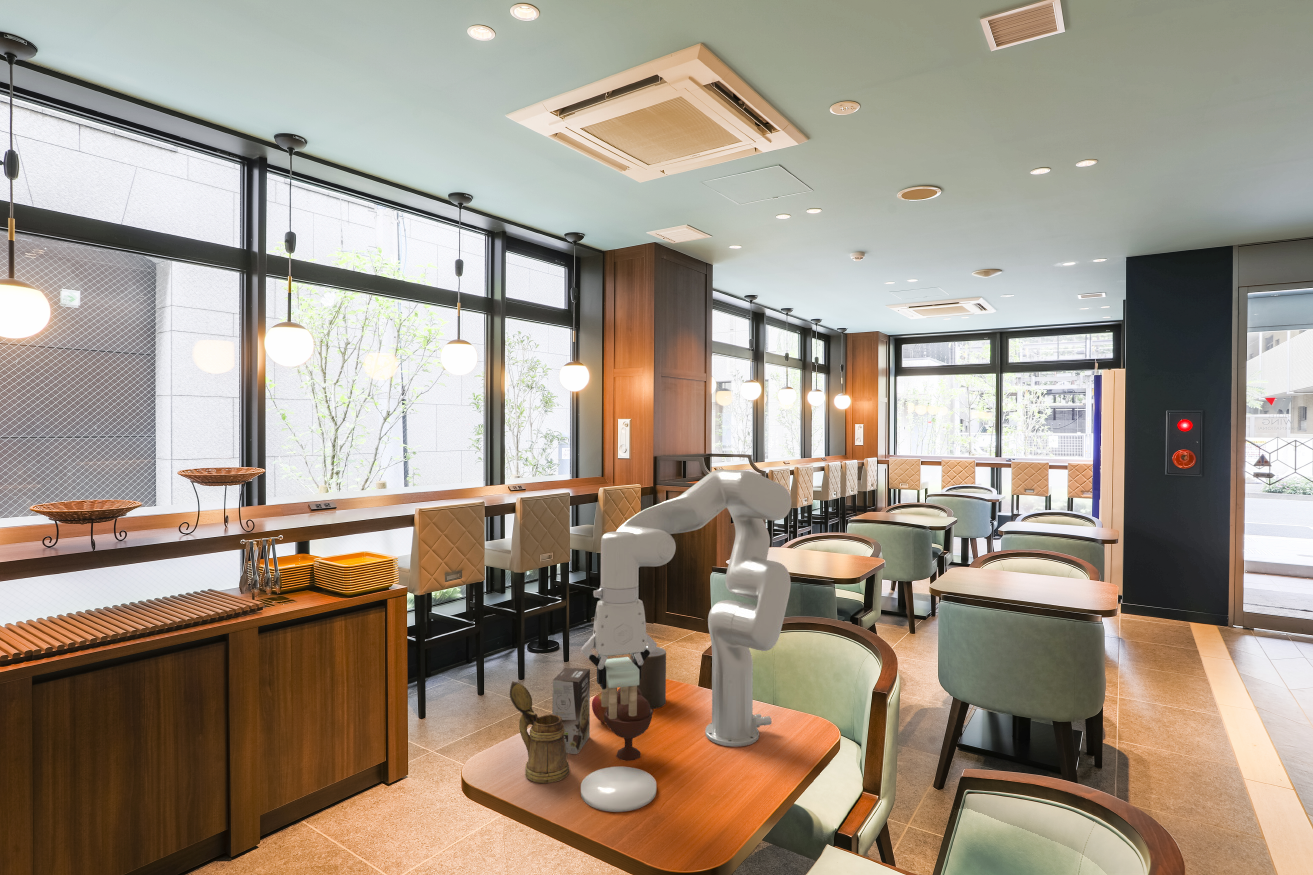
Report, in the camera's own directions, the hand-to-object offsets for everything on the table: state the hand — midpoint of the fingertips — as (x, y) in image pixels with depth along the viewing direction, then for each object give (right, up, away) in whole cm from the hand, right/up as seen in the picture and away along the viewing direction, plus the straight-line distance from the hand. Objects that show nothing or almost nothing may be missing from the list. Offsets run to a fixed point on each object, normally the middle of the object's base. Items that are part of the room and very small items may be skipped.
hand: (619, 684), depth 133 cm
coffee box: (-12, -21, +20) cm, 32 cm away
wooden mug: (-17, -21, +8) cm, 29 cm away
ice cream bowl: (+1, -21, +15) cm, 26 cm away
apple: (-4, -21, +32) cm, 39 cm away
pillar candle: (+5, -21, +45) cm, 50 cm away
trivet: (0, -21, 0) cm, 21 cm away
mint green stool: (0, -5, 0) cm, 5 cm away
